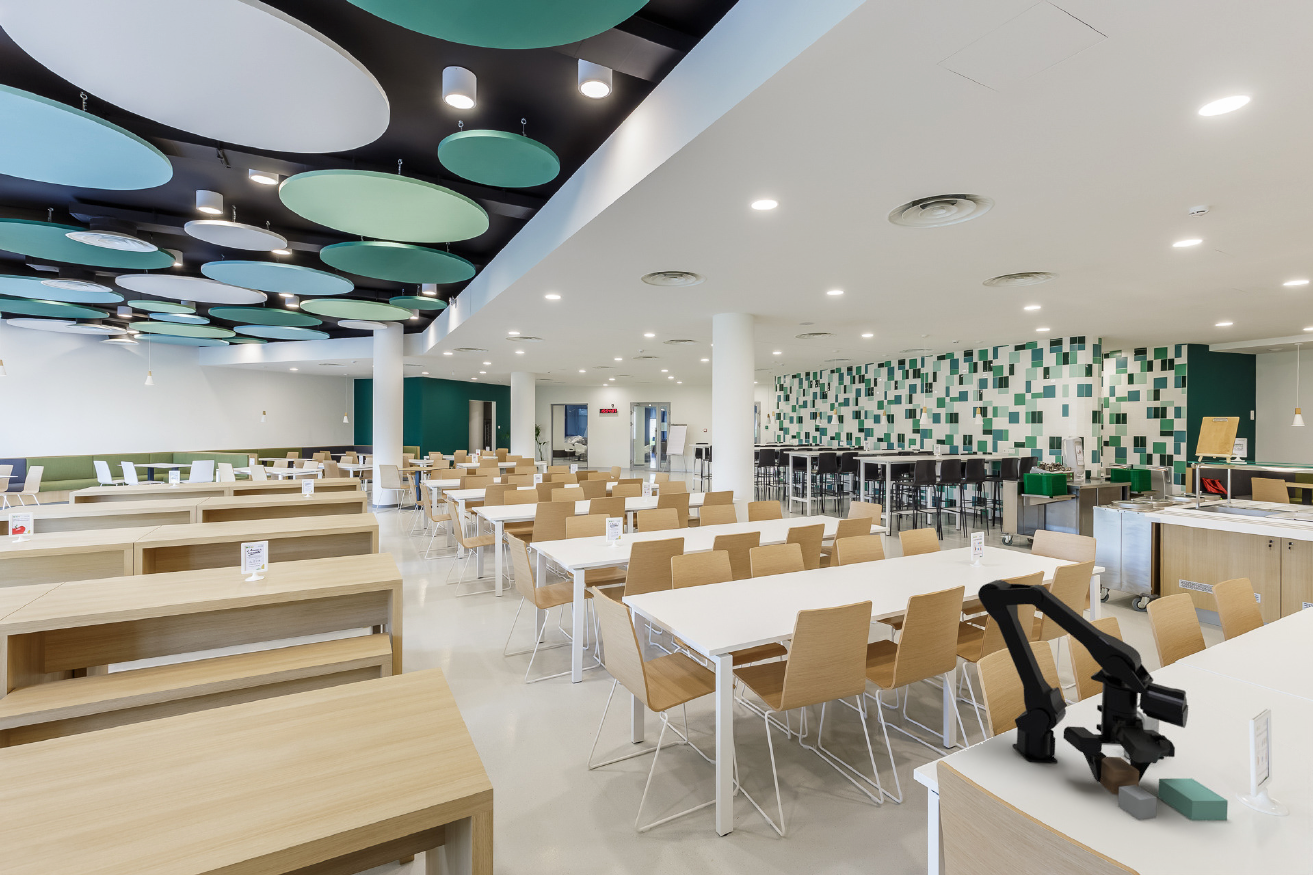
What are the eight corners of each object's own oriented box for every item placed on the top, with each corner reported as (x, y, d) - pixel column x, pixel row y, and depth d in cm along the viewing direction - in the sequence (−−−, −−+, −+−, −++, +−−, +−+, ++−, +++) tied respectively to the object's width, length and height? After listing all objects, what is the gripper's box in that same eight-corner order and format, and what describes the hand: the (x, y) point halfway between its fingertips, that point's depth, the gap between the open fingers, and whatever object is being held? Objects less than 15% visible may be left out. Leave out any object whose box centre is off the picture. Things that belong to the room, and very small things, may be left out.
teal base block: (1191, 821, 110) (1192, 800, 110) (1158, 798, 117) (1159, 778, 117) (1226, 821, 111) (1227, 800, 111) (1191, 797, 118) (1192, 778, 118)
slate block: (1139, 820, 110) (1140, 799, 110) (1118, 807, 114) (1119, 786, 114) (1155, 817, 111) (1156, 797, 111) (1134, 804, 115) (1135, 784, 115)
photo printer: (1137, 743, 138) (1139, 691, 137) (1160, 752, 134) (1162, 699, 134) (1120, 756, 132) (1122, 702, 132) (1144, 766, 128) (1146, 710, 128)
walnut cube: (1112, 794, 118) (1113, 770, 118) (1095, 779, 123) (1096, 755, 123) (1138, 795, 118) (1139, 771, 118) (1119, 780, 123) (1120, 757, 123)
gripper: (1101, 725, 112) (1098, 804, 113) (1200, 729, 112) (1197, 809, 112) (1063, 698, 124) (1060, 770, 124) (1153, 701, 123) (1150, 774, 123)
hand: (1116, 781), depth 121 cm, fingers open, 7 cm apart
